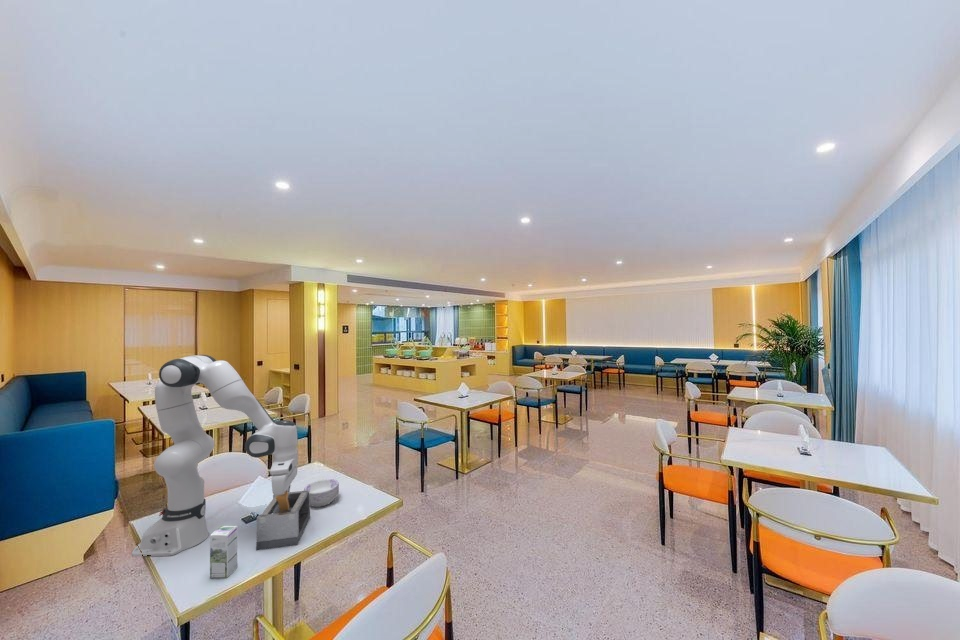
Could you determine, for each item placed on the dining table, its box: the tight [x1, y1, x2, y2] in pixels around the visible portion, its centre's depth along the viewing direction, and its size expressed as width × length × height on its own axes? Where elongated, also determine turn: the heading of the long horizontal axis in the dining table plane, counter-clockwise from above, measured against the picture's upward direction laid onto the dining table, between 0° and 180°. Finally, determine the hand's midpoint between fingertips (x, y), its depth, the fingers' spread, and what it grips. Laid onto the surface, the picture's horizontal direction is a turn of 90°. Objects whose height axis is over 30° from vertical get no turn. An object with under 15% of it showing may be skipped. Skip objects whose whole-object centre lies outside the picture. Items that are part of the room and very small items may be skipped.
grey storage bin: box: [255, 490, 311, 551], centre depth 144 cm, size 20×14×12 cm
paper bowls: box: [303, 478, 340, 508], centre depth 170 cm, size 15×15×8 cm
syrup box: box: [209, 525, 238, 579], centre depth 121 cm, size 6×6×14 cm
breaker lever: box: [276, 492, 292, 513], centre depth 142 cm, size 2×4×10 cm, turn 103°
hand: (286, 496), depth 143 cm, fingers closed
